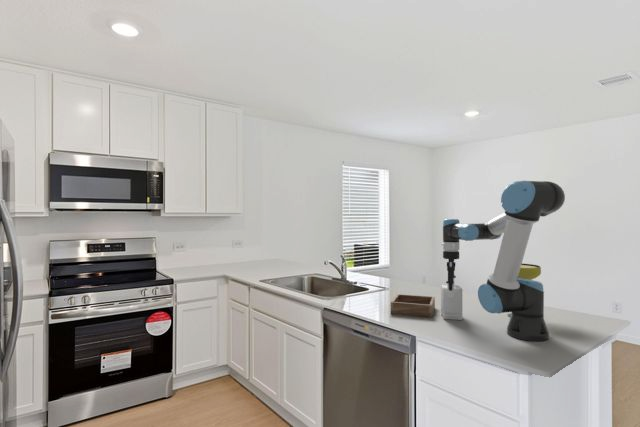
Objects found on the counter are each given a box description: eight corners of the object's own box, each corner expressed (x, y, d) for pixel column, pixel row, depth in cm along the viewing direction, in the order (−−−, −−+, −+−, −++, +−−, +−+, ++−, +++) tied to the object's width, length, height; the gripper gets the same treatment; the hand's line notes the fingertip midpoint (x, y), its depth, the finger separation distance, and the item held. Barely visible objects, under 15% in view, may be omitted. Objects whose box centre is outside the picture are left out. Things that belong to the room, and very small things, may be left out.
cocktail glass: (528, 311, 190) (528, 262, 190) (549, 322, 172) (549, 268, 172) (492, 311, 190) (492, 263, 190) (510, 322, 172) (509, 268, 172)
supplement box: (463, 320, 176) (462, 288, 176) (443, 319, 177) (443, 288, 177) (459, 315, 184) (459, 285, 185) (441, 314, 186) (440, 284, 186)
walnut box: (431, 317, 180) (431, 305, 180) (390, 314, 188) (390, 302, 188) (434, 307, 199) (434, 296, 199) (397, 304, 206) (397, 294, 206)
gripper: (444, 247, 194) (444, 288, 194) (441, 253, 171) (441, 299, 171) (459, 248, 191) (459, 289, 192) (459, 253, 168) (459, 300, 168)
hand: (451, 294), depth 181 cm, fingers open, 13 cm apart
